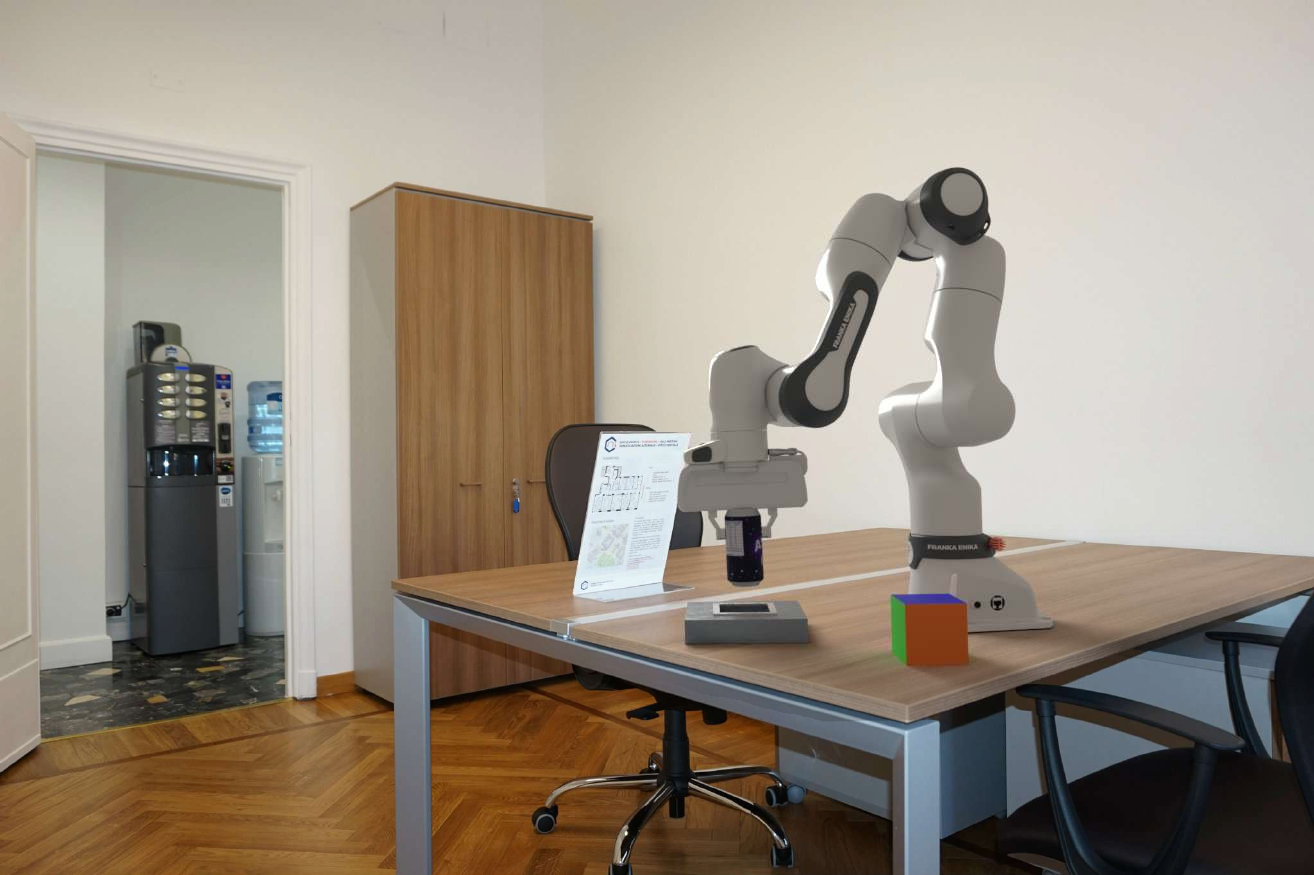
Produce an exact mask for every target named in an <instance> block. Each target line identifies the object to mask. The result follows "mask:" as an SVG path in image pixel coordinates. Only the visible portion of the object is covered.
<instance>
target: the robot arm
mask: <svg viewBox="0 0 1314 875" xmlns="http://www.w3.org/2000/svg"><path fill="white" fill-rule="evenodd" d="M987 191H988V190H987V188H986V186H985V183H984V182H983V180H982V179H981V177H979V175H978V174H977V173H975V172H974V171H973V170H971V169H968V168H966V167H961V166H959V167H957V166H955V167H948V168H944V169H943V170H939V171H938V172H936V173H934V174H932V175H931V176H929V177H928V179H926V181H924V182H923V183H921V184H920V185H919V186H918V187H916V188H915V189H914V190H912V191H911V193H909V194H908V196H907V197H906V198H905V199H904V200H897V199H896V198H894V197H892V196H890V195H888V194H884V193H881V192H870V193H867V194H864V195H862V196H860V197H859V198H858V199H856V201H855V202H854V204H853V205H852V206H851V207H850V208H849V210H848V211H847V212H846V214H844V216H843V218H842V219H841V221H840V222H839V224H838V225H837V227H836V229H835V231H834V232H833V234H832V236H831V237H830V239H829V241H828V243H827V245H826V247H825V249H824V251H823V253H822V254H821V255H822V256H821V258H820V260H819V262H818V267H817V271H816V274H815V284H816V286H817V288H818V291H819V293H820V294H821V295H822V297H823V298H824V299H825V300H826V301H827V302H829V303H830V304H829V305H830V306H829V311H828V313H827V315H826V318H825V321H824V322H823V325H822V328H821V330H820V332H819V335H818V338H817V339H816V342H815V345H814V347H813V349H812V350H811V352H810V353H809V354H808V355H807V356H806V357H805V358H803V359H802V360H801V361H800V362H798V363H796V364H793V365H790V364H788V363H786V362H782V361H780V360H777V359H776V358H774V357H771V356H770V355H768V354H767V353H765V352H764V351H763V350H761V348H759V347H758V346H757V345H754V344H747V345H741V346H737V347H733V348H729V349H725V350H723V351H720V352H718V353H716V354H715V355H714V356H713V358H712V359H711V362H710V366H709V372H708V373H709V374H708V404H709V408H710V412H711V415H712V416H711V417H712V418H711V419H712V421H711V427H710V440H709V441H708V442H703V443H699V444H698V445H697V446H693V447H691V448H689V449H687V450H685V451H684V452H683V461H684V463H685V464H687V465H684V467H683V468H682V469H681V471H680V472H679V473H680V474H679V477H678V484H677V494H676V495H677V496H676V497H677V500H676V501H677V508H678V510H680V511H681V512H683V513H691V512H692V513H694V512H707V515H708V520H709V522H710V523H711V524H712V526H713V528H714V529H715V536H716V537H715V538H716V541H726V535H725V527H721V526H720V525H719V524H718V522H717V520H716V518H718V511H727V510H731V509H750V508H754V509H758V510H762V509H763V510H765V509H767V515H768V516H769V519H768V521H767V523H766V525H761V529H762V539H772V527H773V525H774V524H775V521H776V519H777V517H778V509H786V508H787V509H788V508H791V509H792V508H803V507H805V505H806V504H807V503H808V500H809V499H808V489H807V484H806V478H805V475H806V474H807V472H808V468H809V466H808V457H807V454H806V453H804V451H802V450H799V449H798V448H797V447H788V448H769V445H768V444H769V443H768V440H769V439H768V425H773V426H775V427H781V428H782V427H783V428H785V427H786V428H796V427H798V428H799V427H803V428H810V429H811V428H812V429H821V428H825V427H828V426H831V425H832V424H833V423H835V422H836V421H837V420H838V419H840V418H841V417H842V415H843V414H844V412H845V410H846V408H847V406H848V402H849V396H850V385H851V375H852V370H853V366H854V363H855V361H856V359H857V356H858V353H859V351H860V348H861V346H862V343H863V340H864V338H865V336H866V334H867V331H868V328H869V326H870V324H871V321H872V318H873V315H874V314H875V310H876V307H877V302H878V300H879V296H880V293H881V291H882V289H883V287H884V285H885V283H886V281H887V279H888V277H889V275H890V272H891V271H892V268H893V266H894V264H895V261H896V259H897V258H899V259H901V260H904V261H907V262H912V263H913V262H915V263H916V262H917V263H918V262H923V261H924V262H925V261H928V260H931V259H934V263H935V268H936V269H935V270H936V279H935V282H934V287H933V291H932V295H931V299H930V303H929V310H928V314H927V318H926V323H925V327H924V331H923V340H924V344H925V347H926V348H927V349H928V350H929V351H930V352H931V353H932V354H933V355H934V357H935V364H936V365H935V366H936V370H935V372H936V373H935V375H934V376H935V377H934V379H933V380H930V381H929V380H927V381H921V382H920V381H919V382H912V383H908V384H906V385H903V386H901V387H899V388H897V389H894V390H892V391H891V392H889V393H887V394H886V395H885V397H884V398H882V400H881V403H880V405H879V408H878V415H877V417H878V425H879V428H880V430H881V432H882V434H883V435H884V436H885V437H886V438H887V439H888V440H889V441H890V443H891V444H892V445H893V447H894V448H895V450H896V452H897V454H898V456H899V459H900V462H901V464H902V467H903V469H904V472H905V478H906V481H907V487H908V499H909V514H910V515H909V516H910V517H909V518H910V520H909V521H910V532H909V533H908V534H907V535H908V537H907V539H908V540H907V560H908V565H909V569H910V571H909V572H910V575H909V582H908V583H909V585H908V592H907V594H951V595H952V596H954V597H956V598H958V599H960V600H962V601H964V602H966V603H967V623H968V633H975V632H976V633H978V632H997V631H1011V630H1012V631H1013V630H1016V631H1017V630H1031V629H1033V630H1034V629H1035V630H1036V629H1050V628H1052V627H1054V620H1053V618H1052V616H1050V615H1049V614H1048V613H1045V612H1044V611H1043V612H1042V611H1040V610H1038V606H1037V599H1036V596H1035V595H1036V594H1035V592H1034V589H1033V587H1032V585H1031V584H1030V583H1029V581H1028V580H1026V579H1025V578H1024V577H1023V576H1021V575H1020V574H1018V573H1017V572H1016V571H1014V570H1013V569H1012V568H1011V567H1009V566H1008V565H1007V564H1005V563H1004V562H1003V561H1001V560H1000V559H998V558H997V557H996V556H995V555H996V552H1001V551H1003V550H1004V548H1006V541H1004V539H1003V538H1000V537H999V536H994V537H992V536H989V535H988V534H986V533H985V532H983V507H982V506H983V504H982V500H983V498H982V487H981V485H980V482H979V481H978V480H977V479H976V477H974V476H973V475H972V474H971V473H970V472H969V471H968V470H967V469H966V466H965V465H964V463H963V461H962V458H961V455H960V451H959V448H970V447H971V448H974V447H979V446H982V445H986V444H990V443H993V442H995V441H998V440H1001V439H1002V438H1004V437H1006V435H1007V434H1009V432H1010V431H1011V429H1012V427H1013V425H1014V422H1015V418H1016V404H1015V403H1016V402H1015V399H1014V396H1013V394H1012V392H1011V390H1010V389H1009V388H1008V386H1007V385H1005V383H1004V382H1002V380H1001V379H1000V376H999V374H998V370H997V367H996V361H995V360H996V358H995V344H996V339H997V334H998V333H997V331H998V327H999V326H998V325H999V320H1000V315H1001V310H1002V307H1003V306H1002V305H1003V300H1004V292H1005V286H1006V276H1007V275H1006V270H1007V269H1006V267H1007V265H1006V263H1007V262H1006V261H1007V260H1006V259H1007V258H1006V251H1005V249H1004V247H1003V245H1002V244H1001V243H1000V242H999V241H998V240H996V239H995V238H993V237H992V236H989V235H986V234H987V232H988V230H989V229H990V226H991V224H992V219H991V216H990V213H989V196H988V195H989V194H988V192H987ZM986 224H987V225H986Z"/></svg>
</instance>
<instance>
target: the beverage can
mask: <svg viewBox="0 0 1314 875" xmlns="http://www.w3.org/2000/svg"><path fill="white" fill-rule="evenodd" d="M761 526H762V514H761V512H760V511H759V509H754V508H750V509H731V510H726V512H725V515H724V528H725V535H726V540H725V556H726V557H725V558H726V559H725V560H726V579H727V581H728V582H729V583H730V584H731V586H733V587H736V588H738V587H739V588H749V587H750V588H751V587H756V586H759V585H760V583H761V582H762V581H763V580H764V577H765V576H764V575H765V574H764V573H765V572H764V555H763V551H764V550H763V549H764V548H763V538H762V529H761Z"/></svg>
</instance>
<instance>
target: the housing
mask: <svg viewBox="0 0 1314 875" xmlns="http://www.w3.org/2000/svg"><path fill="white" fill-rule="evenodd" d="M800 604H801V603H799V601H798V600H745V601H744V600H742V601H741V600H740V601H739V600H737V601H735V600H733V601H729V600H728V601H726V600H725V601H687V605H686V610H685V614H684V642H685V643H684V645H707V644H709V645H710V644H711V645H713V644H714V645H715V644H716V645H720V644H721V645H722V644H723V645H724V644H726V645H727V644H728V645H729V644H730V645H731V644H733V645H734V644H735V645H736V644H796V643H797V644H808V643H809V622H808V621H809V619H808V618H809V617H807V615H806V613H805V611H804V610H803V608H802V606H801V605H800Z"/></svg>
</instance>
